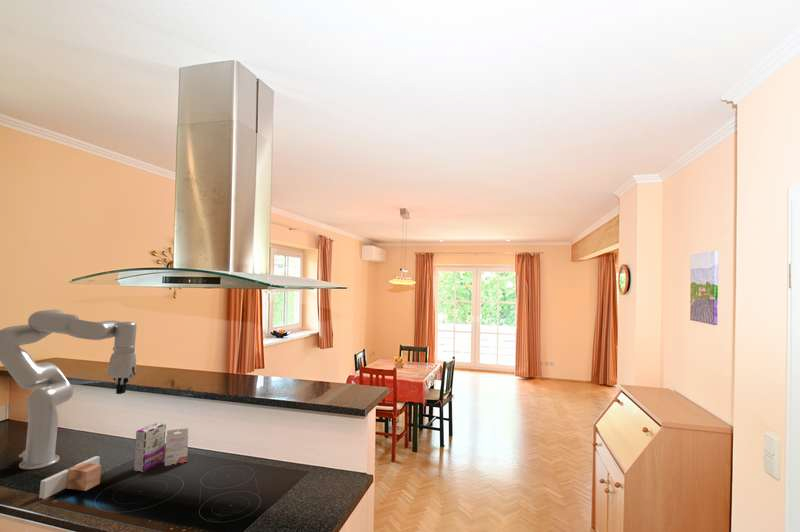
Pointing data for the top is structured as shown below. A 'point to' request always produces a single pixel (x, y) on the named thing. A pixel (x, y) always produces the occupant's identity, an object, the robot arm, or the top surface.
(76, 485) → the terracotta block
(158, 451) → the candy bar box
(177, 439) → the ink cartridge box
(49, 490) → the grey board
